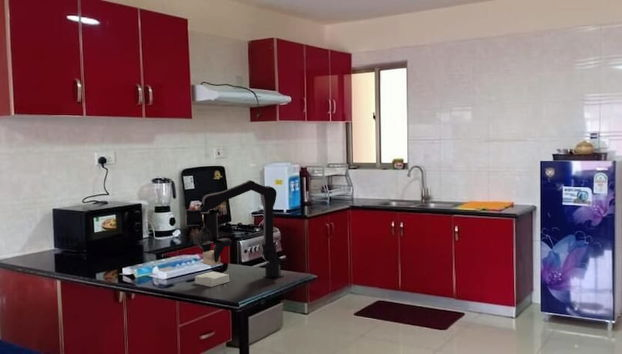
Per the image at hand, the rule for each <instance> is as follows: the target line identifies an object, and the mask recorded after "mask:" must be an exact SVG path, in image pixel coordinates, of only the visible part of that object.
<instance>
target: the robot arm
mask: <svg viewBox="0 0 622 354" xmlns="http://www.w3.org/2000/svg"><path fill="white" fill-rule="evenodd" d="M250 191H253V192H254V193H257V194H259V195H260V200H261V203H262V206H263V207H262V208H263V216H262V217H263V219H262V220H263V239H262V242H259V243H258V245H259V249H258V250H259V251H258V252H259V254H260V256H261V257H262V258H263V259H264V260H265V262H266V263H265V275H263V276H262V278H266V279H271V280H276V279H279V278H283V277H284V275H283V274H282V273H281V272H282V271H281V269H282V267H281V265H282V262H283V260H282V259H281V257H279V256H278V252H277V249H276V243H275V239H274V208H275V207H274V206H275V203H276V200H277V190H276V188H274V187H273V186H270V185H262V184H260V183H257V182H255V180H250V179H249V180H247V181H245V182H242V183H240V184H237V185H235V186H233V187H230V188H228V189H226V190H222V191H218V192H212V193H208V194H205V195H204V196H203V197H202V201H201V203H200V205H199V206H198V208H197V209H185V216H184V222H185V223H184V224H185V227H196V226H200V225H201V224H202V223H203V227H201V230H200V231H199V232H198V233H196V234H195V235H193V236H192V237H191V244H194V245H195V246H197V247H199V248H200V249H201V251H202V253H203V252H207V251H211V249H212V250H213V251H214V259H215V262H218V259H219V257H220V258H221V255H222V252H223V251H224V249H225V248H226V247H230V246H232V240H231V239H230V238H227V237H225V238H221V236H220V235H219V233H218V231H219V230H220V229H221V227H220V226H218V215H219V214H222V213H223V212H222V211H221V210H220V209H219V206H221V205H222V204H223V203H224V202H226V201H227V200H230V199H232V198H235V197H238V196H240V195H243V194H246V193H248V192H250ZM212 244H214V246H212Z"/></svg>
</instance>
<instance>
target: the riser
mask: <svg viewBox="0 0 622 354" xmlns="http://www.w3.org/2000/svg"><path fill="white" fill-rule="evenodd" d="M228 282H230V275H229V274H227V273H223V272H222V273H221V272H218V271H210V272H206V273H202V274H198V275H196V276H195V275H194V284H197V285H201V286H206V287H209V288H210V287H211V288H212V287H215V286H219V285H223V284H225V283H228Z"/></svg>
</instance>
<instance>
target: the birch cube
mask: <svg viewBox="0 0 622 354" xmlns="http://www.w3.org/2000/svg"><path fill="white" fill-rule="evenodd" d="M202 264H203V265H206V266H215V265H219V264H220V265H221V256H220V257H219V259H218V262H215V259H214V250H213V249H212V250H211V249H210V251H207V252H203V251H202Z"/></svg>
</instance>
